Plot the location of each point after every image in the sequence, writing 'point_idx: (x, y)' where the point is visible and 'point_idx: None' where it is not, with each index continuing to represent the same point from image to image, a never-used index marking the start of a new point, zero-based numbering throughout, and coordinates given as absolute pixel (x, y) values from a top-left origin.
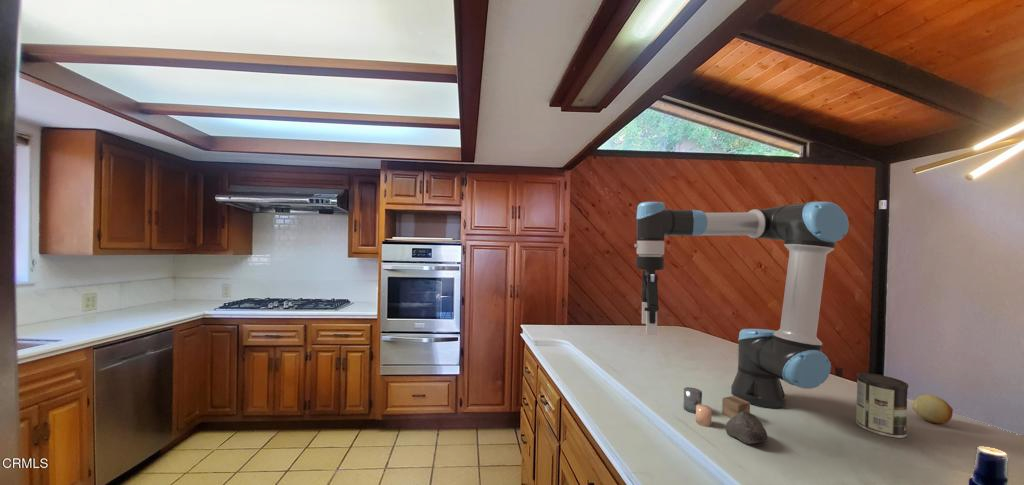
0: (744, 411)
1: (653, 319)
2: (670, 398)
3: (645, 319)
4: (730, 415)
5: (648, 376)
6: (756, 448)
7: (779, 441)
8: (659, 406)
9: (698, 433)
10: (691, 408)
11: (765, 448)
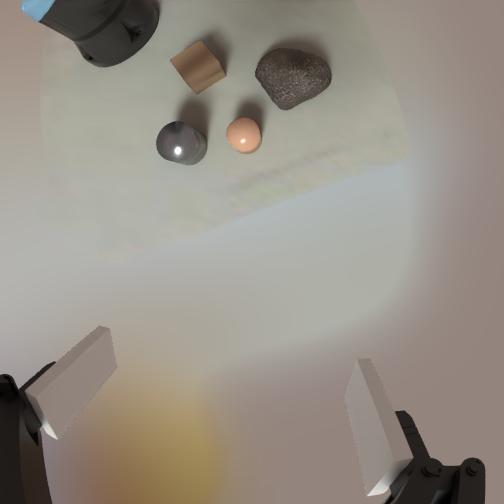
0: (292, 65)
1: (411, 434)
2: (145, 183)
3: (103, 365)
4: (211, 82)
5: (59, 213)
6: None
7: (286, 38)
8: (190, 215)
9: (295, 163)
10: (203, 151)
11: None
